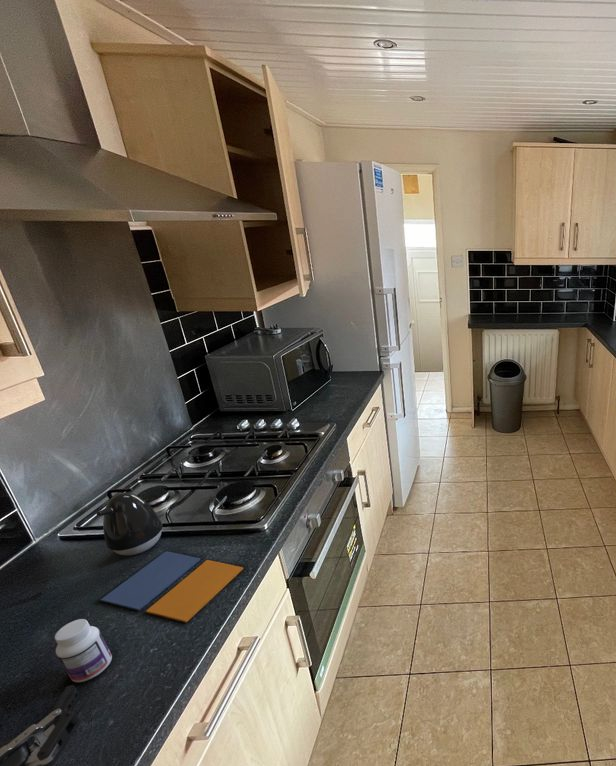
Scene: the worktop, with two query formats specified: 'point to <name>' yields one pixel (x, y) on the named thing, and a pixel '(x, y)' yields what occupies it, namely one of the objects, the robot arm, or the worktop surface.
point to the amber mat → (195, 591)
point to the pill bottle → (82, 650)
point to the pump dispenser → (130, 524)
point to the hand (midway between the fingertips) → (36, 698)
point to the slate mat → (150, 580)
